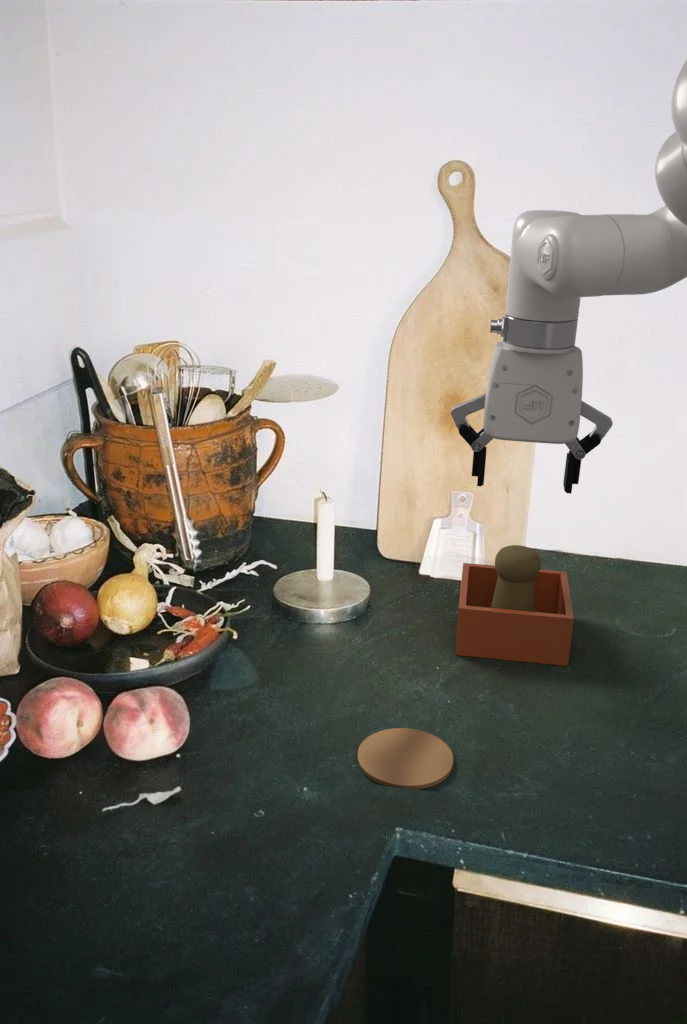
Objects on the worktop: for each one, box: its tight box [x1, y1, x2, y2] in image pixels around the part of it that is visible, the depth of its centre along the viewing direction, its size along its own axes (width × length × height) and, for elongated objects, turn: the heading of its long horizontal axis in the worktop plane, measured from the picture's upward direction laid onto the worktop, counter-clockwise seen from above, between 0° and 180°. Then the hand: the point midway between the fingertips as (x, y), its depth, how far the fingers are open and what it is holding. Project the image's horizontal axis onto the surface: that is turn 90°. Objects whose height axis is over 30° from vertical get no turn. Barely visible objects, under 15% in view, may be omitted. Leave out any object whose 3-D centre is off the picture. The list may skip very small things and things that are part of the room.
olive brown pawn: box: [491, 544, 541, 612], centre depth 110 cm, size 6×6×11 cm
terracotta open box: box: [454, 562, 575, 667], centre depth 110 cm, size 13×13×6 cm
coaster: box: [356, 727, 454, 791], centre depth 88 cm, size 9×9×1 cm
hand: (523, 485), depth 105 cm, fingers open, 9 cm apart
